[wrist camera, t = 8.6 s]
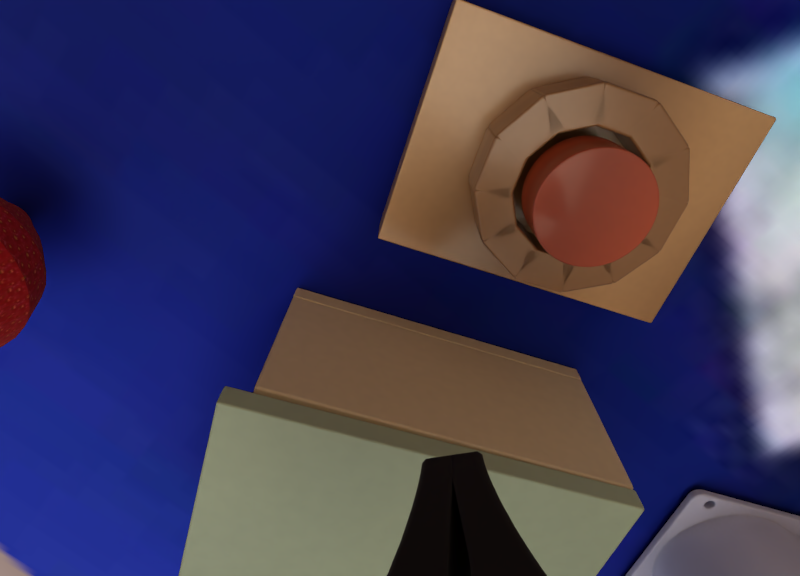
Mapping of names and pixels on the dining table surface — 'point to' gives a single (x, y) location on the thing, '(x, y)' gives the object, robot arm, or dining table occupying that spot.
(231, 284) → the dining table surface
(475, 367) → the wooden box
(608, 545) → the lid
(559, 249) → the button
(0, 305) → the strawberry
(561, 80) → the control block
